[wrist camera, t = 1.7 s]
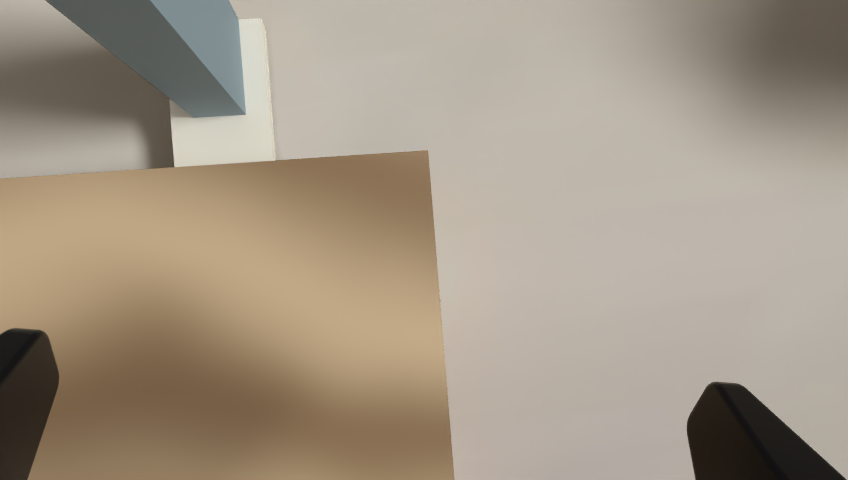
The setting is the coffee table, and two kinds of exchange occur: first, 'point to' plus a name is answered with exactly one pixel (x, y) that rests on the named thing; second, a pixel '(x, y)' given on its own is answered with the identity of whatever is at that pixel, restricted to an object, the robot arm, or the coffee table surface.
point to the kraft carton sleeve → (234, 319)
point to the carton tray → (231, 131)
